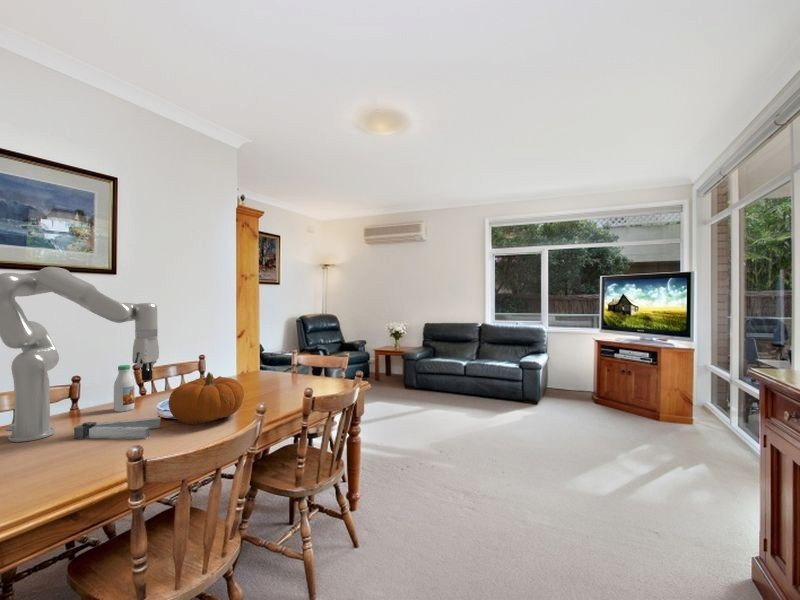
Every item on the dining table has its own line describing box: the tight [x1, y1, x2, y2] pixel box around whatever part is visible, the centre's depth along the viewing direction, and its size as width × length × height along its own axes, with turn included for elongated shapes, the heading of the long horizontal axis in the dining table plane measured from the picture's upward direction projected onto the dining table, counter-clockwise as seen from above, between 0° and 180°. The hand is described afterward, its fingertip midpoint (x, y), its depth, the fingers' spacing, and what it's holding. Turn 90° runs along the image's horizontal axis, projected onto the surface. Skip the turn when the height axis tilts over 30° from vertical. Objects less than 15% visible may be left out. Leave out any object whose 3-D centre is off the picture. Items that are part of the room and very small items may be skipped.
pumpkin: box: [168, 371, 245, 425], centre depth 167 cm, size 28×28×20 cm
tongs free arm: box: [96, 416, 162, 430], centre depth 152 cm, size 20×2×4 cm, turn 112°
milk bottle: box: [113, 364, 136, 413], centre depth 180 cm, size 8×8×20 cm
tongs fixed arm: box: [73, 421, 151, 439], centre depth 147 cm, size 26×6×5 cm, turn 90°
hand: (147, 379), depth 159 cm, fingers closed
